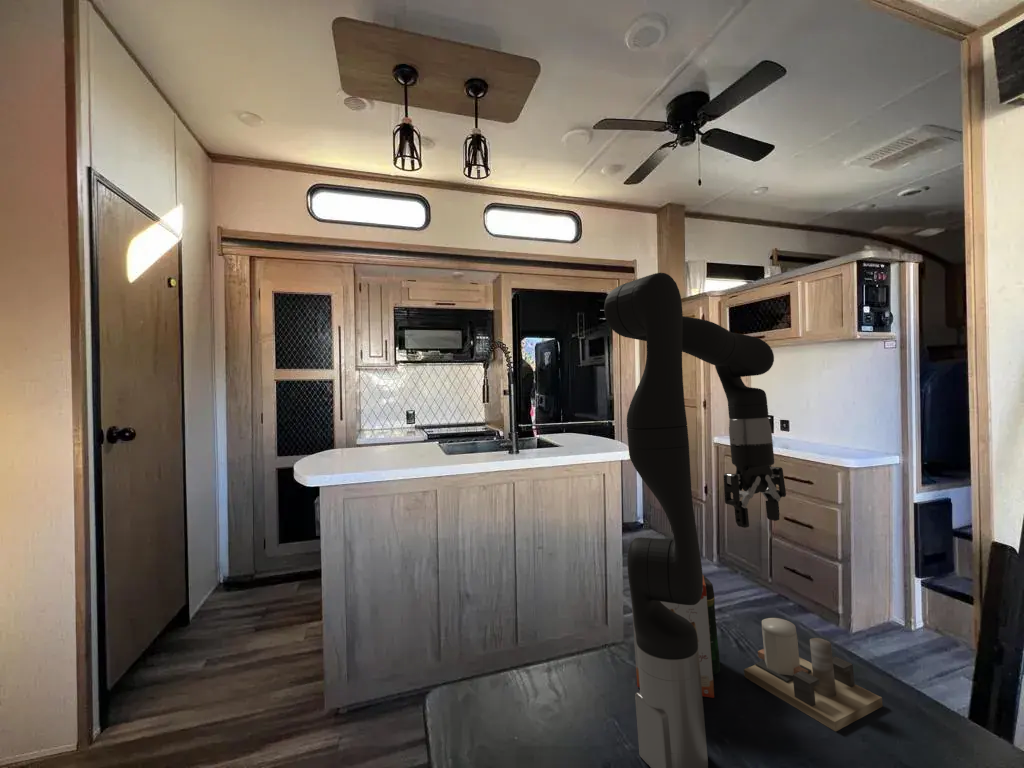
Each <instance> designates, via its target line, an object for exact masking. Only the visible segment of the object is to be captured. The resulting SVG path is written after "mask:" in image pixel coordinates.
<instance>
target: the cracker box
mask: <svg viewBox="0 0 1024 768" xmlns="http://www.w3.org/2000/svg"><path fill="white" fill-rule="evenodd" d="M704 576H705V575H704V574H703V590H702V596H701V599H700V601H699V602H698V603H697V604H695V605H682V604H676V603H669V602H662V601H660V602H661V603H662V604H663V605H664V606H666V607H667V608H668V609H670V610H671V611H673V612H674V613H676V614H678V615H680V616H682V617H684V618H685V619H687V620H688V621H689V622H690V623H691V624H692V625H693V626H694V627H695V629H696V632H697V638H698V650H699V662H700V674H701V686H702V698H703V697H705V698H711V699H714V698H715V687H714V686H715V685H714V675H713V672H712V659H711V646H710V632H709V619H708V607H707V593H706V584H705V581H704ZM631 613H632V616H633V608H632V607H631ZM632 625H633V627H632V628H633V643H634V654H635V655H634V656H635V658H634V659H635V668H636V669H635V671H636V672H635V673H636V683H637V684H636V686H637V687H638V688H640V684H639V670H638V655H637V642H636V632H635V627H634V620H633V619H632Z"/></svg>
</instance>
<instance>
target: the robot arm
mask: <svg viewBox="0 0 1024 768" xmlns="http://www.w3.org/2000/svg"><path fill="white" fill-rule="evenodd" d="M682 301H683V300H682V295H681V291H680V289H679V287H678V284H677V282H676V281H675V279H674V278H673V277H672V276H670V274H667V273H666V272H656V273H652V274H650V275H646V276H642V277H640V278H637V279H635V280H631V281H629V282H625V283H624V284H623V283H622V284H620V285H619V286H617V287H615V288H613V289H612V290H611V291H610V292H609V293H608V295H606V298H605V300H604V305H603V311H604V317H605V319H606V322H607V324H608V327H609V328H610V329H611V330H612V331H613V332H615V334H617V335H619V336H621V337H624V338H627V339H633V340H638V341H644V342H646V361H645V365H644V369H643V373H642V376H641V379H640V381H639V384H638V385H637V388H636V390H635V392H634V394H633V396H632V399H631V402H630V403H629V404H630V405H629V406H628V411H627V416H626V432H627V433H626V435H627V446H628V455H629V459H630V461H631V463H632V466H633V467H634V469H635V471H636V473H638V475H639V476H640V478H641V479H642V481H643V482H644V483H645V485H646V487H648V489H649V490H650V491H651V493H652V494H653V495H654V497H655V498H656V500H657V501H658V502H659V504H660V506H661V508H662V510H663V511H664V514H665V515H666V517H667V520H668V522H669V525H670V528H671V533H672V534H673V535H672V536H673V539H668V538H667V539H666V538H655V537H636V538H634V539H633V540H632V541H631V542H630V543H629V546H628V551H627V560H626V561H627V576H628V585H629V591H630V599H631V609H632V608H633V615H632V621H633V620H634V627H635V632H636V642H637V655H638V670H639V684H640V687H639V691H638V692H635V694H634V698H635V700H634V701H635V711H636V712H635V713H636V725H637V727H636V728H637V741H638V749H639V750H638V753H639V756H640V757H639V758H641V759H642V760H643V761H644V762H645V764H647V765H648V766H649V767H650V768H709V761H708V759H709V758H708V748H707V747H708V746H707V737H706V726H705V723H706V722H705V712H704V711H705V710H704V701H703V700H704V699H703V696H702V686H701V674H700V662H699V650H698V638H697V632H696V629H695V627H694V626H693V625H692V624H691V623H690V622H689V621H688V620H687V619H685V618H684V617H682V616H680V615H678V614H676V613H674V612H673V611H671V610H670V609H668V608H667V607H666V606H664V605H663V604H662V603H661V602H660V601H662V602H669V603H676V604H682V605H695V604H697V603H698V602H699V601H700V599H701V596H702V590H703V575H704V574H703V566H702V558H701V551H700V545H699V538H698V537H699V536H698V531H697V524H696V517H695V510H694V502H693V492H692V477H691V475H692V474H691V459H690V457H691V455H690V442H689V441H690V439H689V433H688V432H689V430H688V421H687V420H688V419H687V411H686V404H685V403H686V402H685V393H684V391H685V390H684V379H683V378H684V376H683V373H684V372H683V353H685V354H687V355H690V356H692V357H695V358H697V359H699V360H701V361H703V362H706V363H708V364H709V365H713V366H715V367H714V368H715V371H716V373H717V376H718V377H719V378H718V379H719V381H720V383H721V385H722V388H723V390H724V394H725V397H726V400H727V406H728V407H727V408H728V418H729V420H728V421H729V422H728V423H729V424H728V425H729V426H728V434H729V435H728V436H729V445H730V458H731V463H732V465H734V466H735V468H736V469H735V473H727V472H725V473H724V474H723V491H724V494H723V495H724V503H725V505H728V506H733V509H734V515H735V523H736V524H737V526H738V527H740V528H744V529H745V528H746V529H747V528H749V527H750V522H749V521H750V519H749V508H748V507H747V506H748V505H749V501H750V500H751V499H752V498H753V497H754V495H755V494H758V493H761V494H762V495H763V497H764V498H765V509H766V511H765V512H766V517H767V519H768V520H769V521H775V522H776V521H780V515H781V513H780V506H779V505H780V503H779V502H781V498H785V497H787V492H786V491H787V489H786V485H785V484H786V483H785V477H784V470H783V469H784V468H782V467H780V466H773V465H775V456H774V453H775V452H774V445H773V444H774V443H773V442H774V441H773V434H772V433H773V432H772V427H771V423H770V418H769V416H770V415H769V410H768V409H769V406H768V398H767V392H766V391H765V390H764V389H761V388H759V387H758V388H757V387H749V386H747V385H746V384H745V383H744V382H743V380H742V378H743V377H753V376H754V377H756V376H761V375H764V374H766V373H768V372H769V371H770V370H771V369H772V367H773V365H774V362H775V354H774V352H773V349H772V347H771V346H770V345H769V343H767V342H766V341H765V340H763V339H761V338H758V337H756V336H751V335H747V334H742V333H737V332H732V331H730V330H728V329H726V328H725V327H724V326H721V325H719V324H717V323H716V322H713V321H710V320H706V319H702V318H696V317H691V316H683V315H684V314H683V305H682V304H683V303H682ZM777 485H778V489H777ZM741 498H742V499H741Z"/></svg>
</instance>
